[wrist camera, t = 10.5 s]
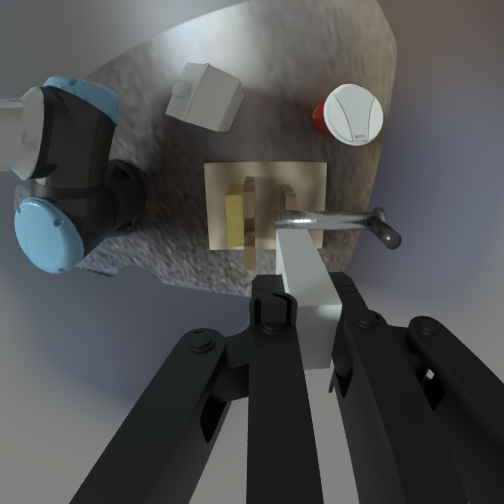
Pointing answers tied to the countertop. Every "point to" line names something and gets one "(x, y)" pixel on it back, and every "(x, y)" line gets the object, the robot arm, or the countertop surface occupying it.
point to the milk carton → (206, 97)
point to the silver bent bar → (339, 222)
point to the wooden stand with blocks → (262, 199)
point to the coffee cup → (349, 115)
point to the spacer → (235, 216)
